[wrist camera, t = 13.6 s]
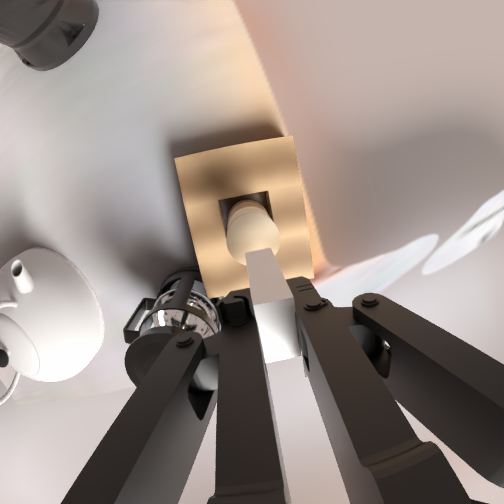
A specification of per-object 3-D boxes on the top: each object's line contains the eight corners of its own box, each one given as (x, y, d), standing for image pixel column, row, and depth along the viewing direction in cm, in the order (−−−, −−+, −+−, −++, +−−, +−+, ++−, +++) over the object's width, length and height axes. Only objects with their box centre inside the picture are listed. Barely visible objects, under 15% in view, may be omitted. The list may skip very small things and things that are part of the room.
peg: (224, 200, 37) (218, 218, 24) (261, 193, 37) (277, 207, 24) (231, 236, 39) (231, 272, 25) (267, 229, 39) (286, 261, 25)
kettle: (13, 215, 35) (-84, 252, 13) (119, 267, 39) (34, 354, 17) (9, 328, 41) (-51, 389, 19) (97, 379, 45) (53, 468, 23)
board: (180, 159, 35) (174, 158, 31) (286, 139, 35) (292, 135, 31) (209, 286, 40) (207, 298, 36) (306, 267, 40) (314, 277, 37)
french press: (230, 269, 40) (228, 384, 17) (227, 328, 42) (224, 457, 20) (148, 263, 39) (69, 361, 16) (151, 322, 41) (98, 437, 19)
